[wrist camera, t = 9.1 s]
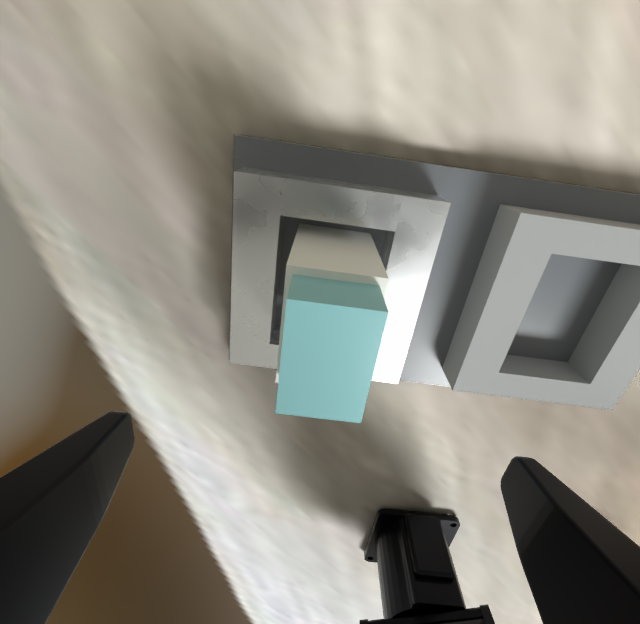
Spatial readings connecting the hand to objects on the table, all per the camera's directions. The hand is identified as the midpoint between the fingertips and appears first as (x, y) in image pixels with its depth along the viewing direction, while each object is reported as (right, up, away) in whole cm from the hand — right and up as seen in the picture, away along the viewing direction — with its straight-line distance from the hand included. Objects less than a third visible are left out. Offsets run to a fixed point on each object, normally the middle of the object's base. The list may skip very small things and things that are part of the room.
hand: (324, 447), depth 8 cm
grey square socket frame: (+12, +4, +11) cm, 17 cm away
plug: (0, +5, +10) cm, 11 cm away
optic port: (0, +5, +11) cm, 12 cm away
